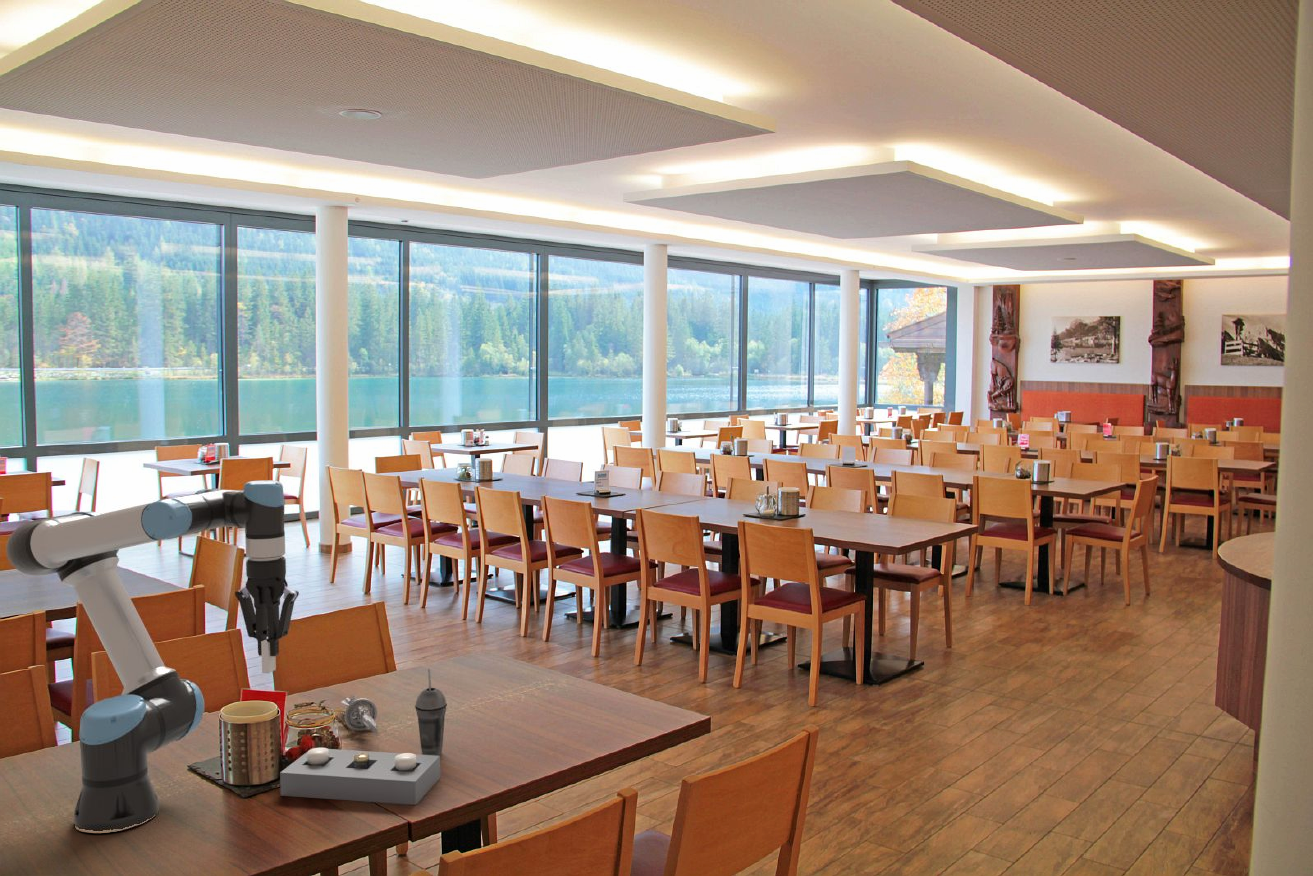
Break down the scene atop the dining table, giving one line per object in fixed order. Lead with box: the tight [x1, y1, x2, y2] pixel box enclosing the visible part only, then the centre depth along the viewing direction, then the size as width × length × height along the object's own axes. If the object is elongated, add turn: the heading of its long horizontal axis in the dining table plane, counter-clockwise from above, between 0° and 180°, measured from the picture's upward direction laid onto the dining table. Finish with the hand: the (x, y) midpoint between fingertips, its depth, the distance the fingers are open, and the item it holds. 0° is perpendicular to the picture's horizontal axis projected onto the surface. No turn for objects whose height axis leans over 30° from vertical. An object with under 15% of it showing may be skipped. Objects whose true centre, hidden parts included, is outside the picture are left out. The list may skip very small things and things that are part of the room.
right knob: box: [395, 752, 416, 772], centre depth 218 cm, size 4×4×5 cm
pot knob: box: [354, 753, 369, 769], centre depth 220 cm, size 3×3×3 cm
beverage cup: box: [414, 668, 448, 757], centre depth 238 cm, size 7×7×20 cm
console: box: [279, 747, 441, 806], centre depth 220 cm, size 14×30×5 cm, turn 81°
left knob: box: [307, 747, 329, 766], centre depth 221 cm, size 4×4×5 cm
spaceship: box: [340, 694, 379, 734], centre depth 254 cm, size 8×35×8 cm
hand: (269, 671), depth 208 cm, fingers closed
